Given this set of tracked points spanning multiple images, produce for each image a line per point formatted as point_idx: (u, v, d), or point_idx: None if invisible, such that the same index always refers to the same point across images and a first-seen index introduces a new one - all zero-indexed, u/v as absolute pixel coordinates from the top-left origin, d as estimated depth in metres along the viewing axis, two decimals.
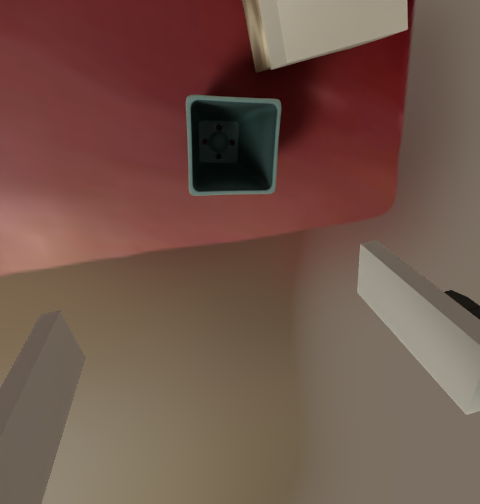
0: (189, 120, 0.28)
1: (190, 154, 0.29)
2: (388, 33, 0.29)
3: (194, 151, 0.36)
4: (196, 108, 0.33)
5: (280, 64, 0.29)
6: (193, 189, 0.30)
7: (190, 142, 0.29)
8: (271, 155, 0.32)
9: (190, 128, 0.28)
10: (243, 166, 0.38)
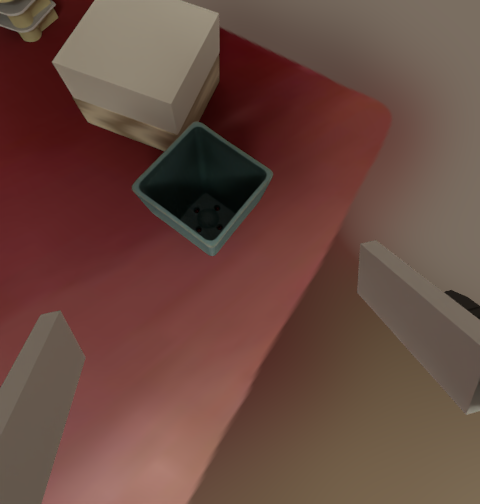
0: (149, 199, 0.26)
1: (177, 219, 0.26)
2: (210, 26, 0.32)
3: None
4: None
5: (172, 115, 0.30)
6: (209, 241, 0.25)
7: (167, 212, 0.26)
8: (237, 157, 0.28)
9: (156, 203, 0.26)
10: None
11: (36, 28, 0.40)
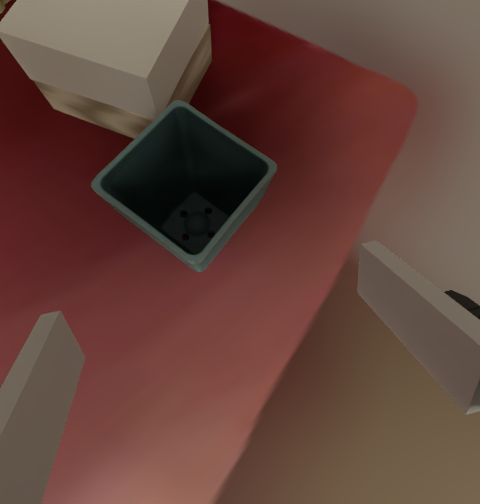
0: (114, 200, 0.20)
1: (149, 227, 0.19)
2: None
3: None
4: (138, 212, 0.25)
5: (149, 94, 0.24)
6: (192, 256, 0.19)
7: (136, 217, 0.19)
8: (231, 145, 0.22)
9: (122, 206, 0.20)
10: None
11: None
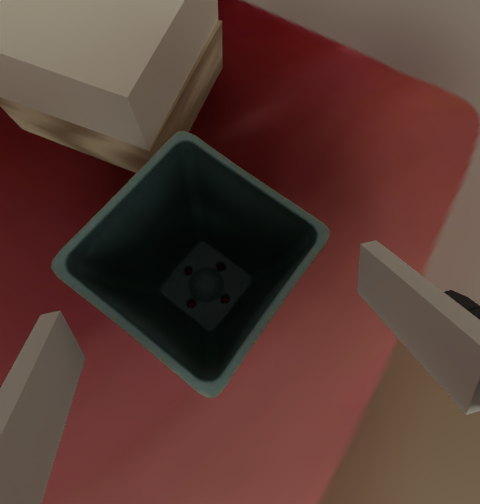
0: (85, 291, 0.13)
1: (139, 335, 0.12)
2: None
3: (185, 328, 0.19)
4: (127, 278, 0.19)
5: (133, 118, 0.17)
6: (206, 384, 0.12)
7: (120, 318, 0.13)
8: (259, 197, 0.15)
9: (99, 300, 0.13)
10: (263, 271, 0.21)
11: None
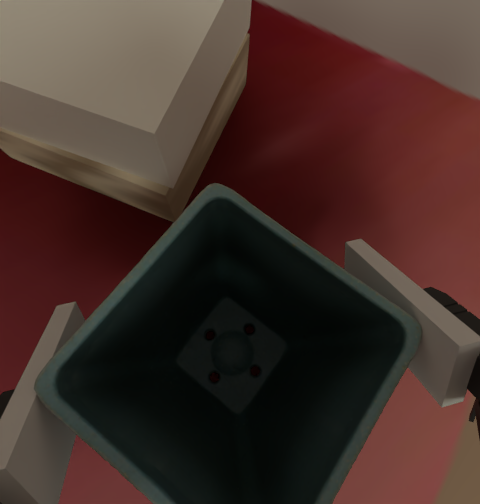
0: (82, 427, 0.09)
1: (160, 499, 0.08)
2: None
3: (210, 417, 0.15)
4: (137, 358, 0.15)
5: (159, 156, 0.14)
6: None
7: (132, 471, 0.09)
8: (319, 274, 0.11)
9: (102, 441, 0.09)
10: (303, 340, 0.17)
11: None
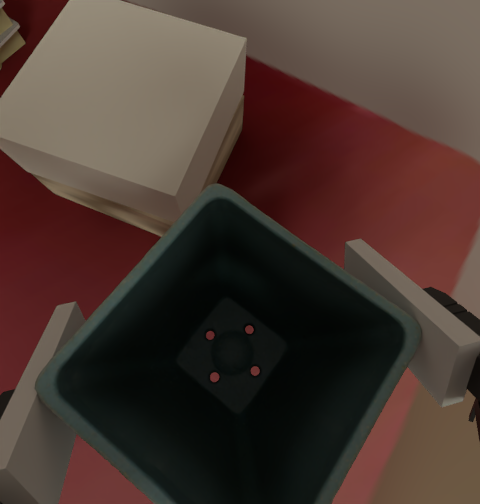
0: (83, 427, 0.09)
1: (161, 499, 0.08)
2: (235, 60, 0.20)
3: (210, 417, 0.15)
4: (137, 357, 0.15)
5: (177, 207, 0.19)
6: None
7: (133, 471, 0.09)
8: (319, 274, 0.11)
9: (102, 440, 0.09)
10: (303, 340, 0.17)
11: None
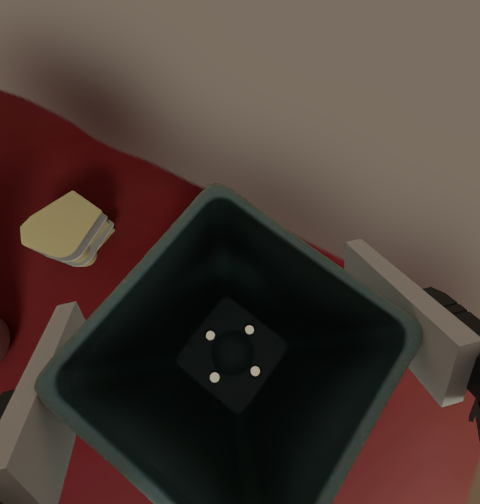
0: (83, 427, 0.09)
1: (161, 499, 0.08)
2: None
3: (210, 417, 0.15)
4: (137, 358, 0.15)
5: None
6: None
7: (132, 471, 0.09)
8: (319, 274, 0.11)
9: (102, 441, 0.09)
10: (304, 340, 0.17)
11: None
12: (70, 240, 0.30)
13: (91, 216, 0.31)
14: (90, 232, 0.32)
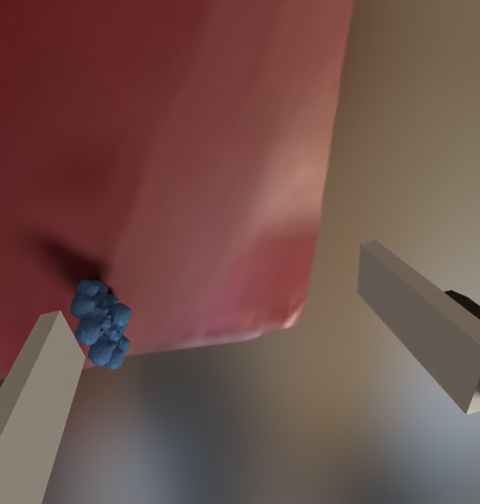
0: None
1: None
2: None
3: None
4: None
5: None
6: None
7: None
8: None
9: None
10: None
11: None
12: None
13: None
14: None
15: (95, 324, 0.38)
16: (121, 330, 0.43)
